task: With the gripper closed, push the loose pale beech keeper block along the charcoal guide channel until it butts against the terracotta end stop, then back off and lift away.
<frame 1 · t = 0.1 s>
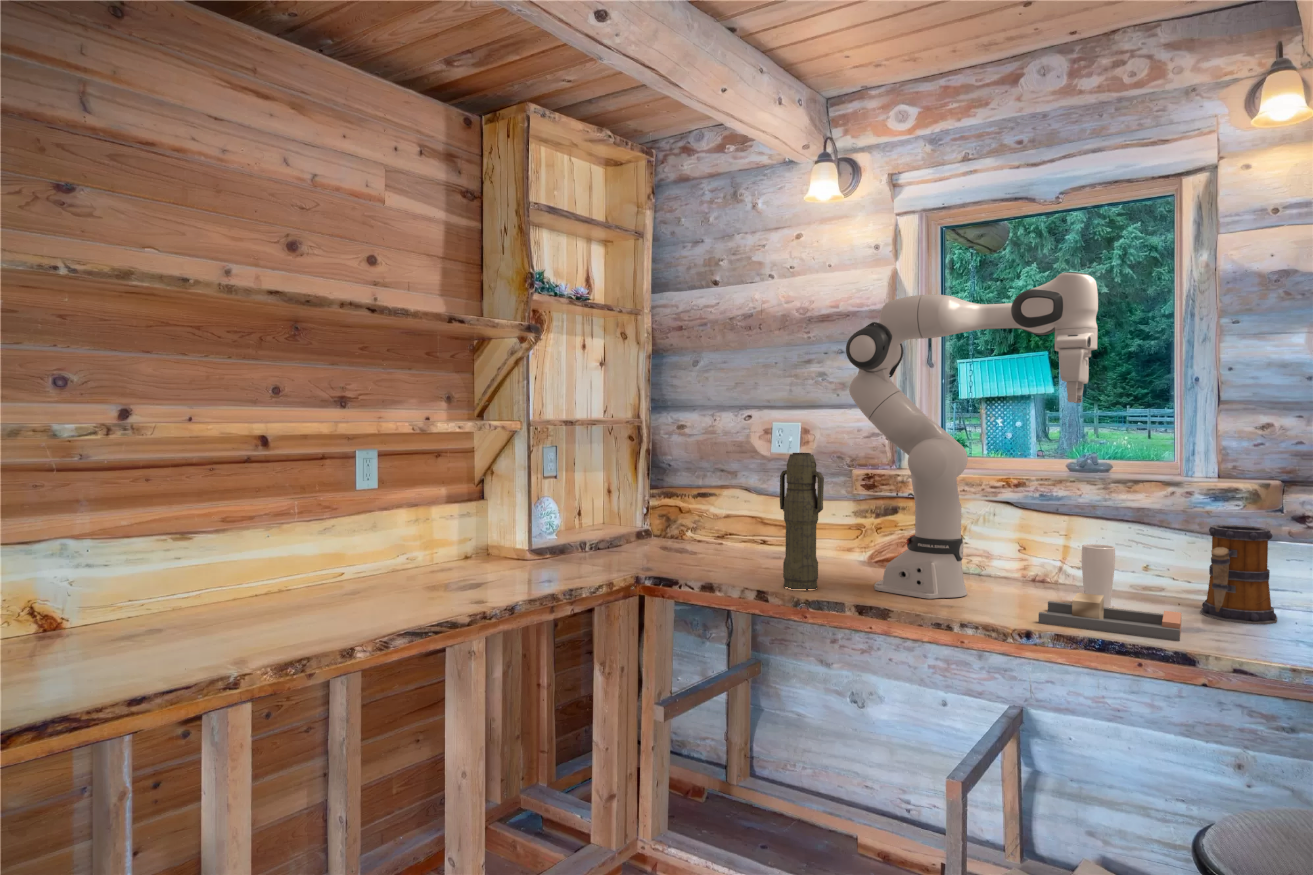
hand: (1074, 402, 193), 48 cm above the table, fingers open, 8 cm apart
white tumbler: (1097, 612, 191), on the table
mug: (1233, 618, 185), on the table
thermos: (800, 588, 216), on the table
guide channel: (1109, 631, 173), on the table
keeper: (1087, 621, 175), point 1 cm above the table, touching guide channel
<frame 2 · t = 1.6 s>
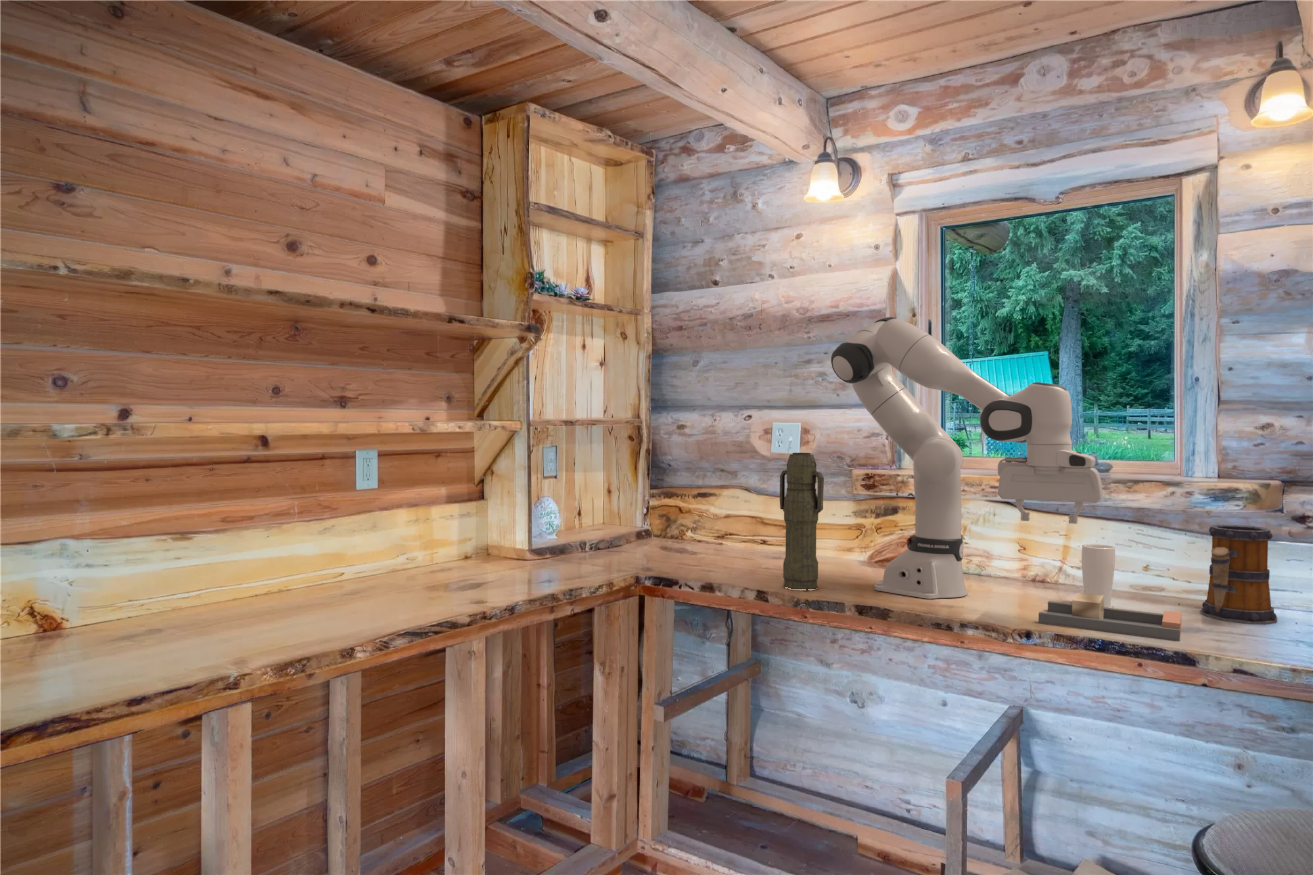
hand: (1048, 522, 179), 22 cm above the table, fingers open, 8 cm apart
nothing on the table moved.
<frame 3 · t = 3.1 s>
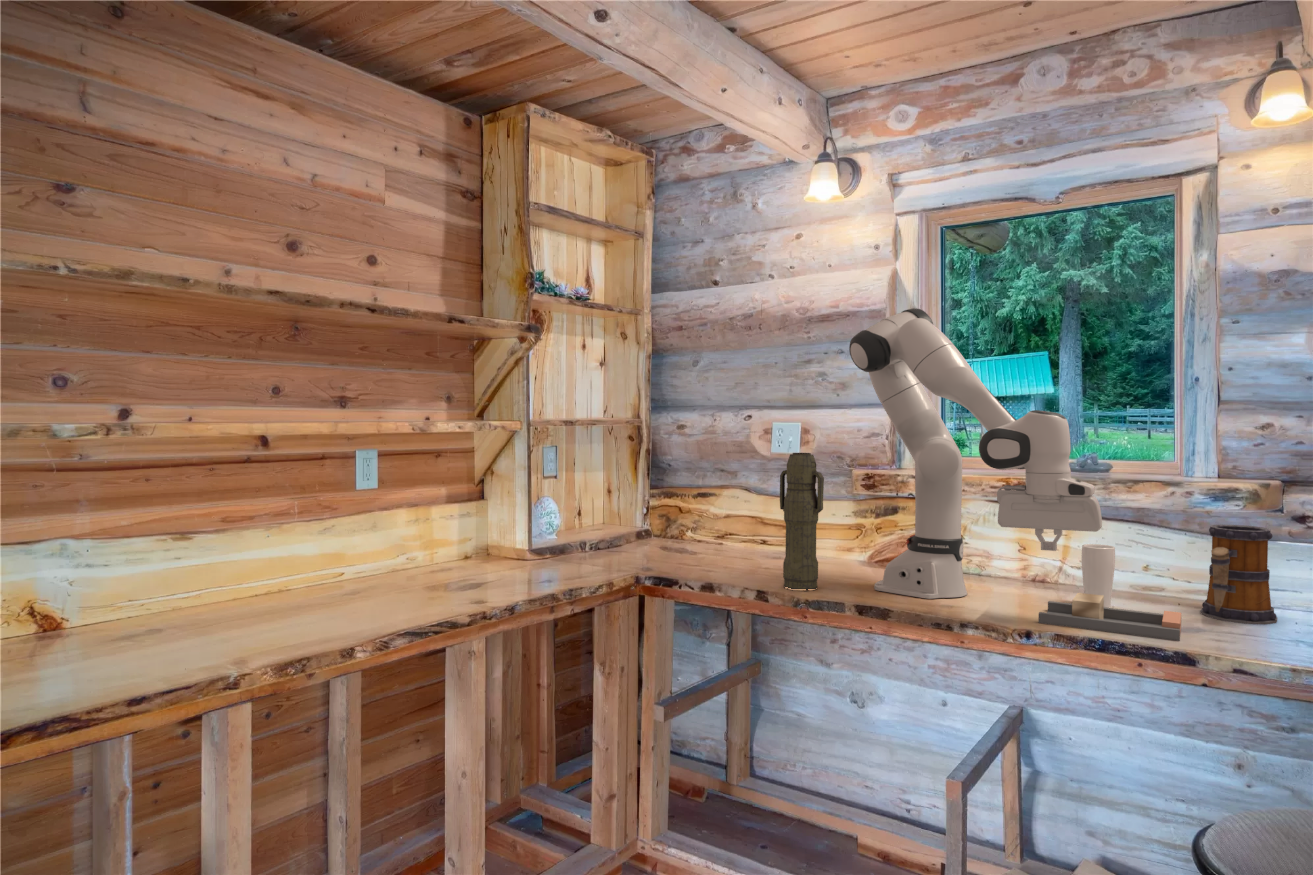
hand: (1048, 550, 179), 16 cm above the table, fingers closed
nothing on the table moved.
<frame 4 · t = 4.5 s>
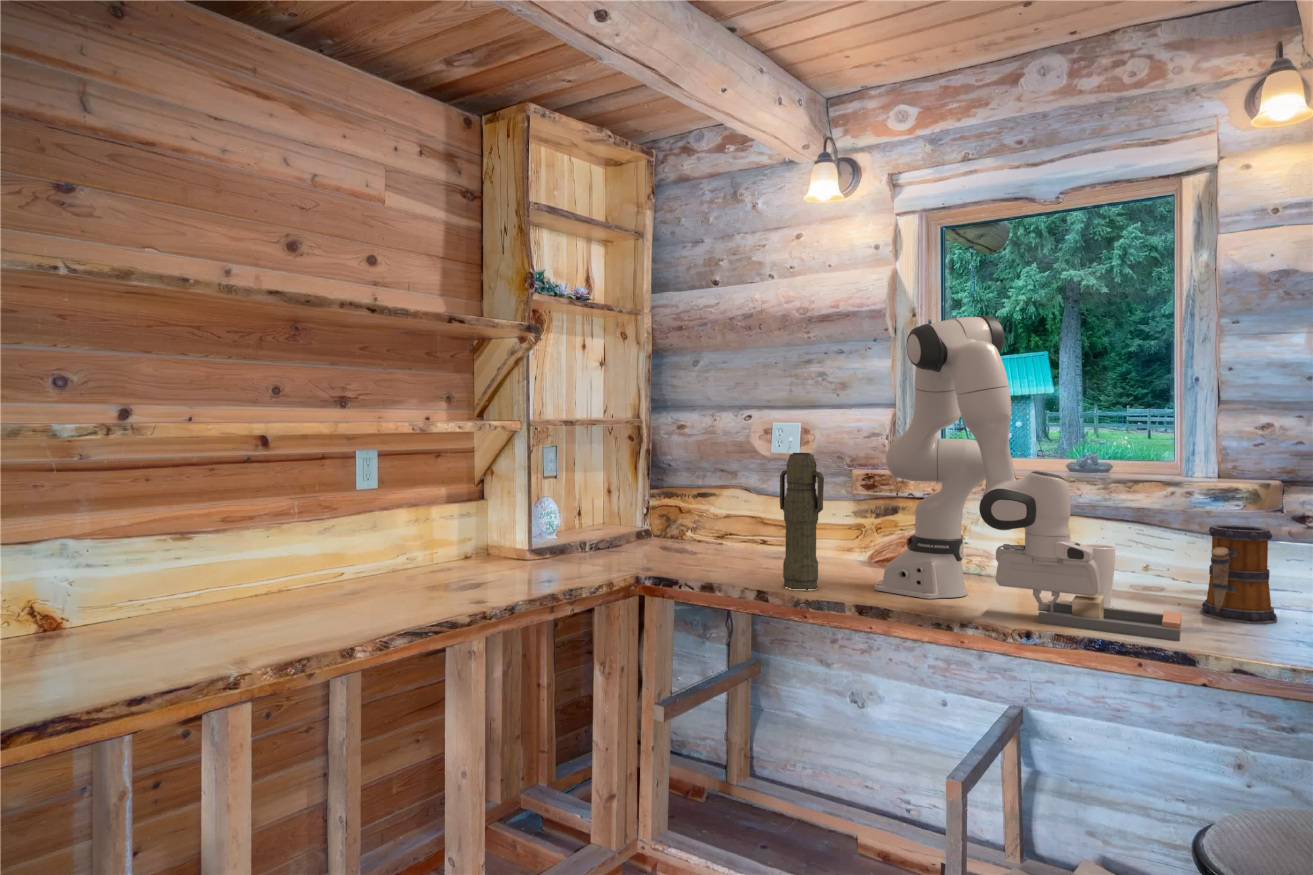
hand: (1046, 611, 179), 3 cm above the table, fingers closed
nothing on the table moved.
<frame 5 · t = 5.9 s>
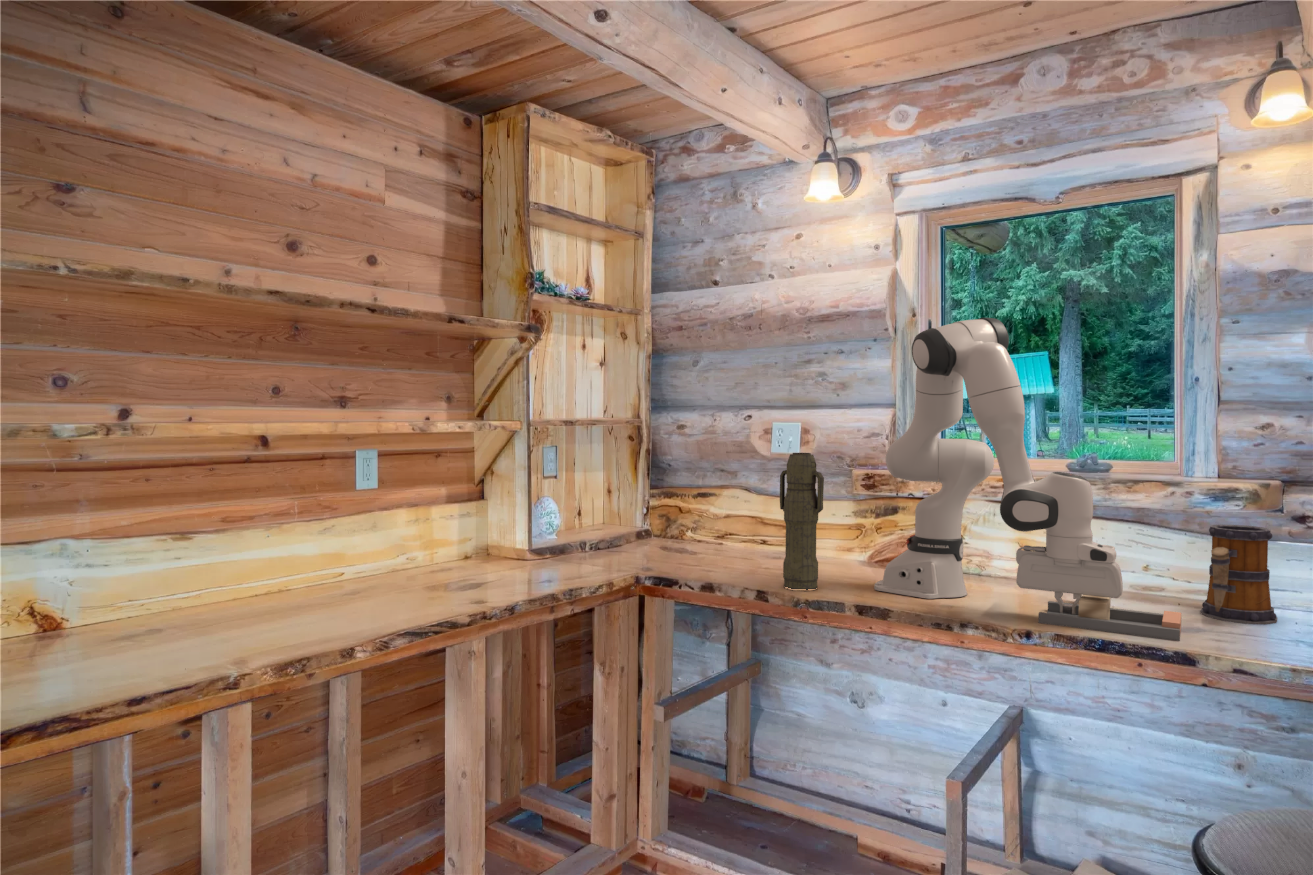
hand: (1067, 613, 177), 3 cm above the table, fingers closed
keeper: (1094, 622, 174), point 2 cm above the table, touching gripper, guide channel
everything else where it was.
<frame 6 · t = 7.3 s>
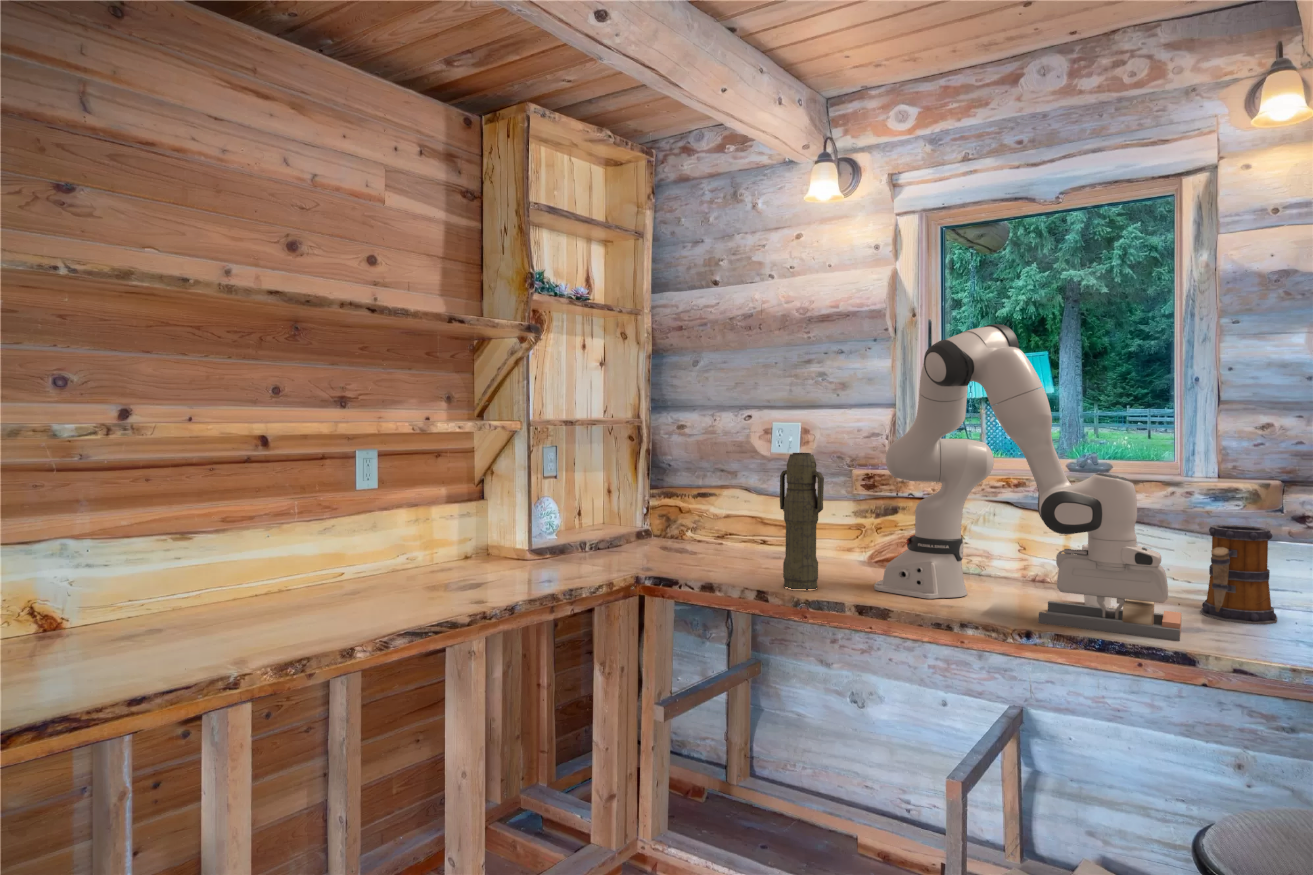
hand: (1110, 618, 173), 3 cm above the table, fingers closed
keeper: (1137, 627, 170), point 2 cm above the table, touching gripper
everything else where it was.
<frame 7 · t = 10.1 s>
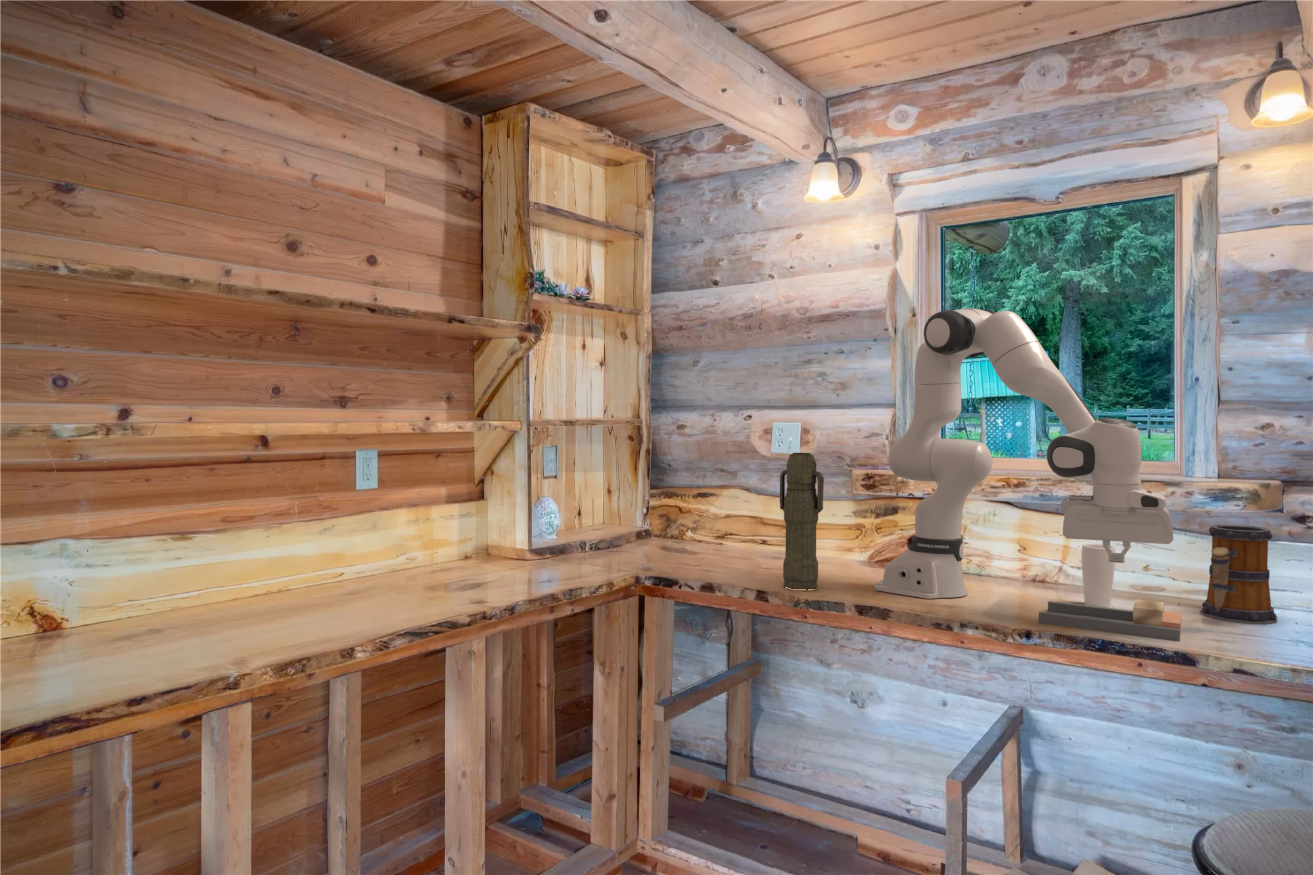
hand: (1116, 562, 174), 14 cm above the table, fingers closed
keeper: (1148, 629, 169), point 1 cm above the table, touching guide channel
everything else where it was.
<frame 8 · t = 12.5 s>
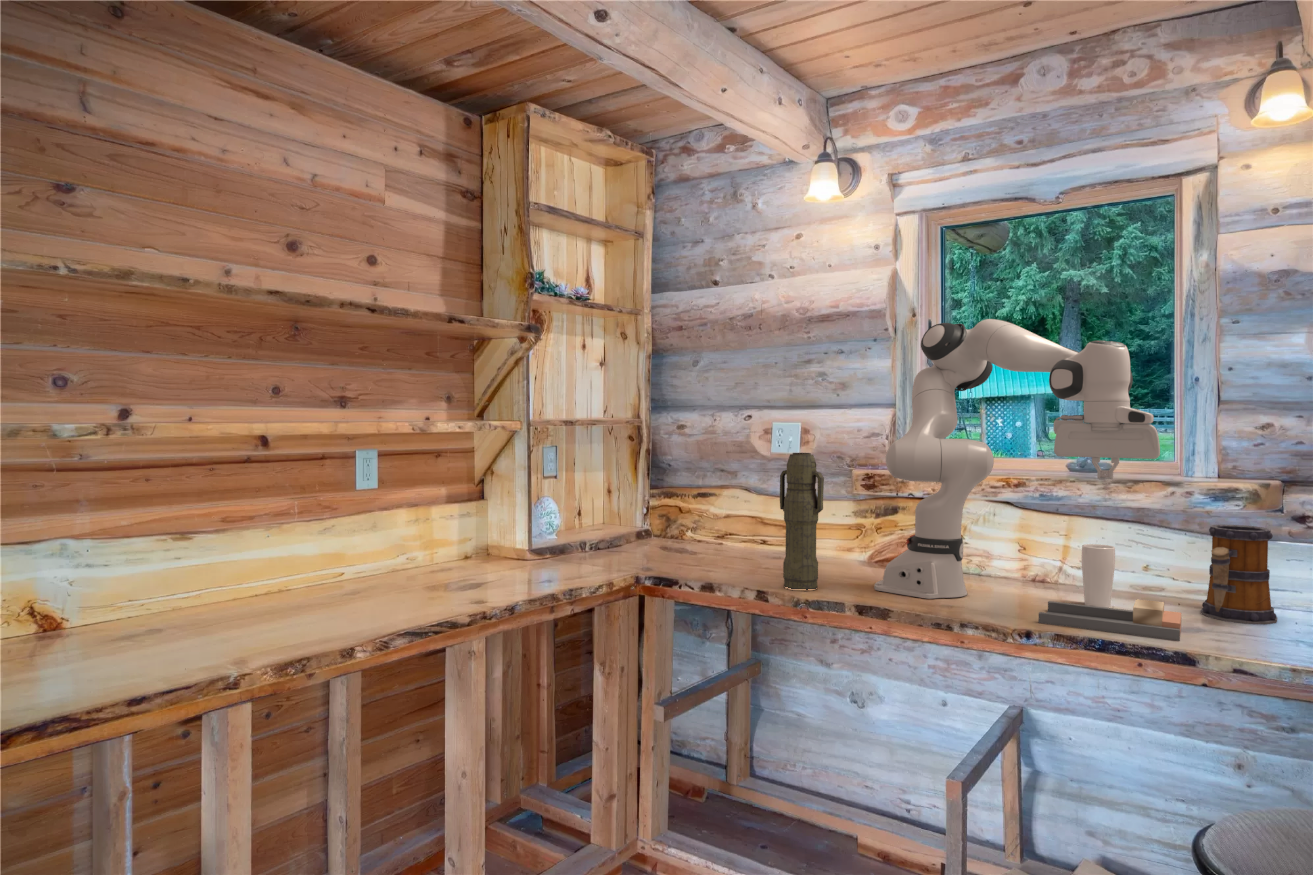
hand: (1105, 478, 181), 31 cm above the table, fingers closed
nothing on the table moved.
at the end: keeper 0.3 cm from the target spot on the guide channel, point 1.5 cm above the guide channel's base; keeper tilted 0° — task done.
